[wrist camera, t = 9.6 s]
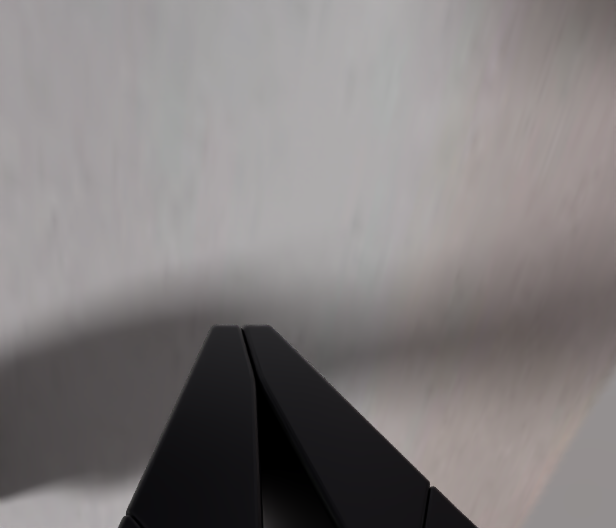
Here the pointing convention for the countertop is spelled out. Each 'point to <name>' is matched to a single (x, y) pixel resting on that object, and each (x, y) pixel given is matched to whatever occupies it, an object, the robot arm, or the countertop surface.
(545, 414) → the countertop surface
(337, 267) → the countertop surface
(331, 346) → the countertop surface
